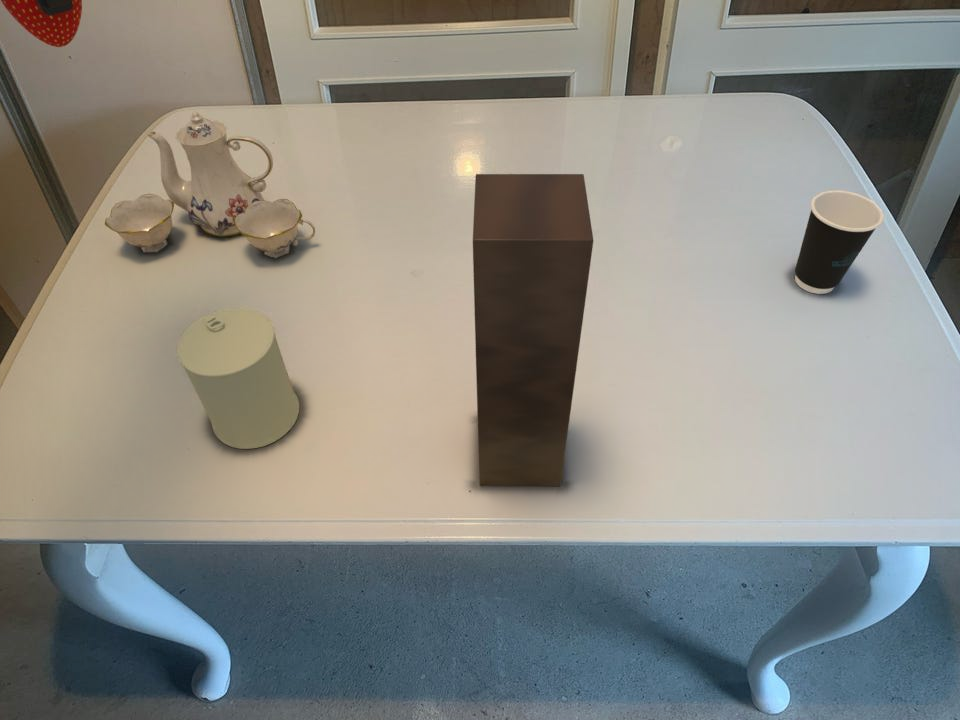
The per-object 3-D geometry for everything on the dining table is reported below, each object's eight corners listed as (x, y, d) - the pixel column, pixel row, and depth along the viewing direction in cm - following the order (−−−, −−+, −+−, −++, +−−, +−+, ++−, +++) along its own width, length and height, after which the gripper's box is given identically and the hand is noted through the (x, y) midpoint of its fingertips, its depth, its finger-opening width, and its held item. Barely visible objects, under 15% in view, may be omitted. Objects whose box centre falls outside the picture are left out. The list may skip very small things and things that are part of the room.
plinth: (479, 485, 67) (472, 240, 45) (480, 421, 73) (475, 173, 51) (560, 486, 67) (593, 240, 45) (556, 421, 72) (583, 173, 50)
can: (274, 369, 78) (246, 290, 69) (315, 418, 73) (291, 340, 64) (198, 410, 74) (158, 332, 65) (236, 464, 69) (198, 388, 60)
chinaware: (109, 278, 92) (44, 178, 79) (144, 197, 102) (91, 95, 88) (317, 273, 92) (287, 172, 78) (331, 193, 102) (307, 91, 88)
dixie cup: (791, 254, 91) (821, 182, 83) (854, 274, 88) (890, 202, 80) (774, 288, 86) (803, 215, 78) (839, 310, 83) (876, 237, 75)
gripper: (-198, -310, 41) (-40, -8, 54) (-139, -305, 34) (28, 42, 46) (-63, -315, 45) (56, -31, 57) (16, -311, 38) (133, 13, 50)
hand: (43, 1), depth 52 cm, fingers closed on fruit, 5 cm apart
